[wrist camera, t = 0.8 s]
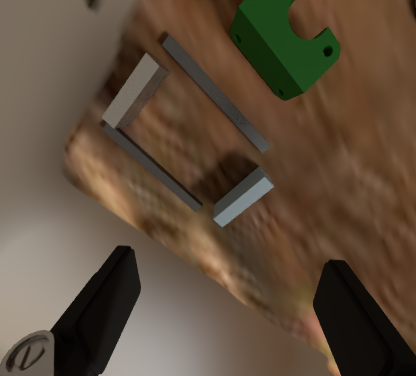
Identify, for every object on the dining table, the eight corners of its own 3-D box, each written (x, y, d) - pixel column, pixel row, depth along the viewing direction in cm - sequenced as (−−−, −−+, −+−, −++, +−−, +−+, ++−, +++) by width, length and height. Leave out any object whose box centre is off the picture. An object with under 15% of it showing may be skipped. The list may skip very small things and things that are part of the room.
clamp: (293, 67, 30) (348, 66, 23) (264, 96, 31) (309, 104, 24) (256, -24, 23) (318, -67, 16) (219, 16, 24) (264, -8, 16)
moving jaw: (259, 166, 32) (264, 176, 27) (267, 174, 32) (274, 186, 28) (215, 204, 35) (213, 219, 31) (222, 211, 36) (222, 227, 31)
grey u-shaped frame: (172, 36, 26) (160, 22, 22) (269, 144, 31) (276, 151, 26) (106, 128, 32) (86, 133, 27) (196, 208, 36) (192, 224, 32)
